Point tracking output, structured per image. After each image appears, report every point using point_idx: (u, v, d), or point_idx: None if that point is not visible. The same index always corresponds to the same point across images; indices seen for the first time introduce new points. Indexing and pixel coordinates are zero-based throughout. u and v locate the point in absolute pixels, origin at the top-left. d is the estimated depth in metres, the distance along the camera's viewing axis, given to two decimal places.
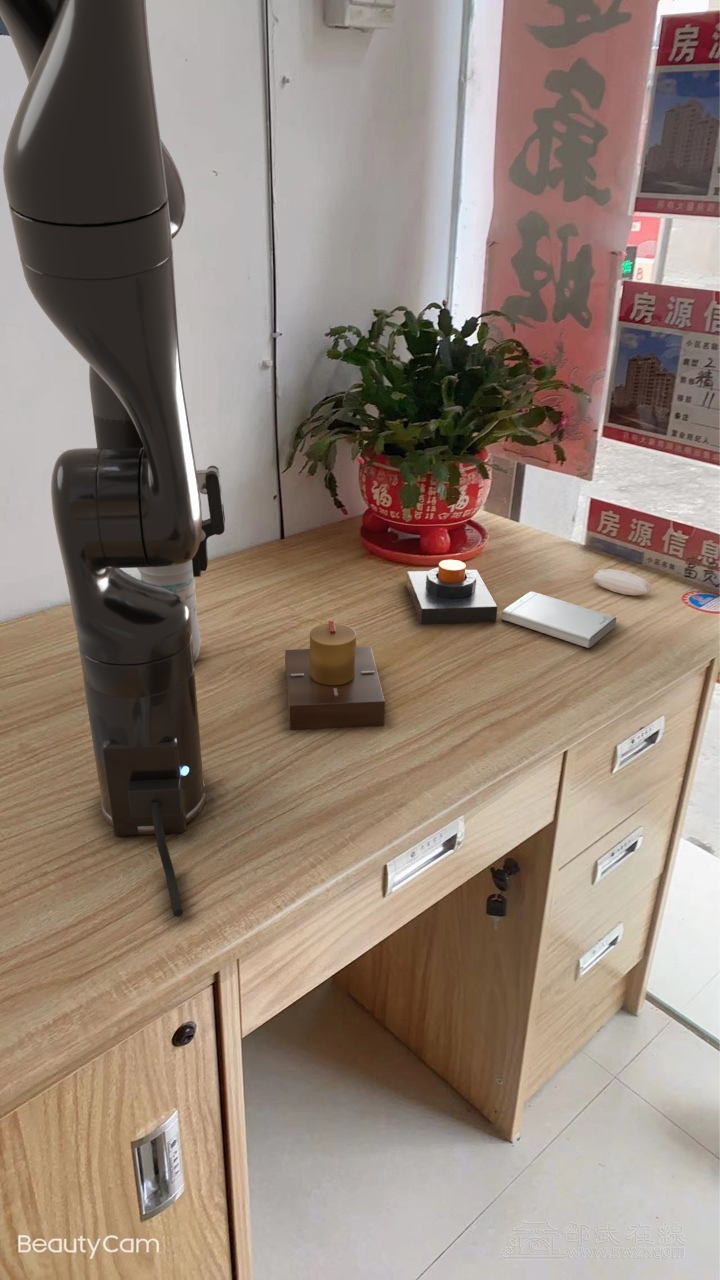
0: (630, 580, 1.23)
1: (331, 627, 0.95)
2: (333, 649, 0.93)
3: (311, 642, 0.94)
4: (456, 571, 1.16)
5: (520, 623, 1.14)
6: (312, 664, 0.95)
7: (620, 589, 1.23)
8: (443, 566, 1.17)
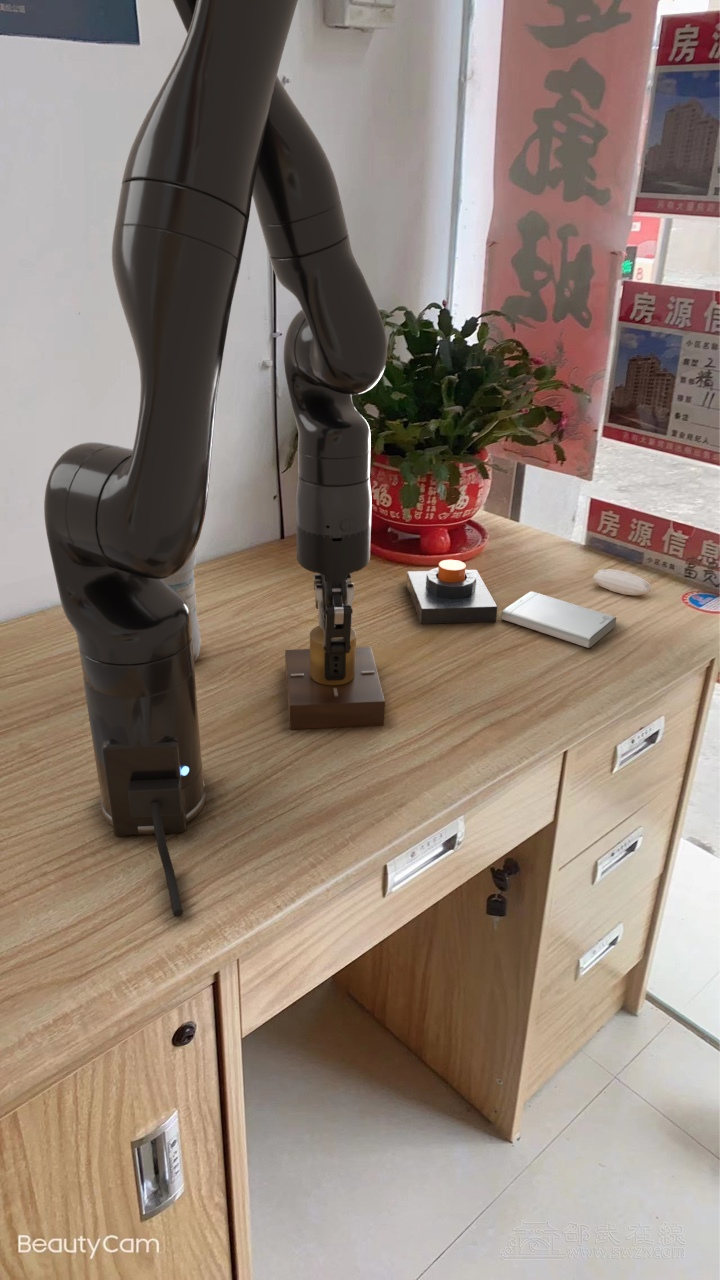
0: (630, 580, 1.23)
1: None
2: None
3: (311, 642, 0.94)
4: (456, 571, 1.16)
5: (520, 623, 1.14)
6: (312, 664, 0.95)
7: (620, 589, 1.23)
8: (443, 566, 1.17)
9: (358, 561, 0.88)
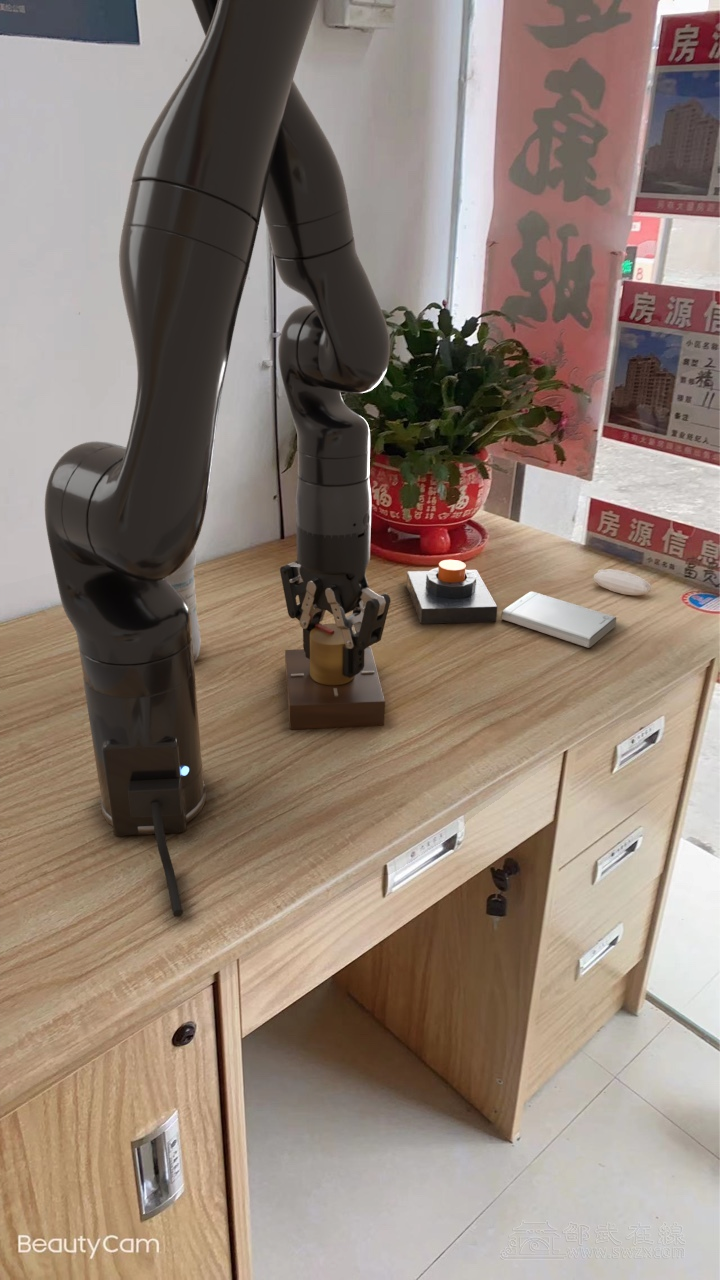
0: (630, 580, 1.23)
1: (326, 628, 0.95)
2: None
3: (322, 648, 0.93)
4: (456, 571, 1.16)
5: (520, 623, 1.14)
6: (325, 669, 0.94)
7: (620, 589, 1.23)
8: (443, 566, 1.17)
9: (369, 552, 0.90)
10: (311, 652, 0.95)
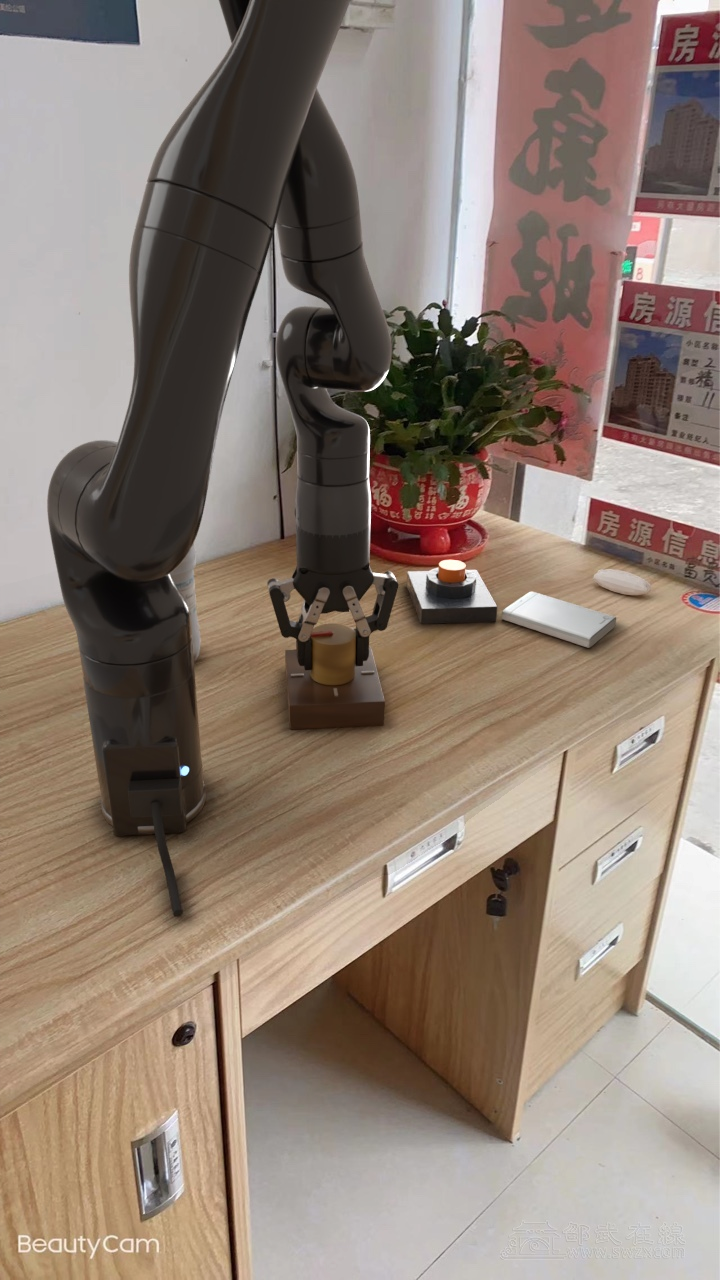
0: (630, 580, 1.23)
1: (325, 632, 0.94)
2: None
3: (344, 647, 0.93)
4: (456, 571, 1.16)
5: (520, 623, 1.14)
6: (346, 668, 0.94)
7: (620, 589, 1.23)
8: (443, 566, 1.17)
9: None
10: (328, 659, 0.93)
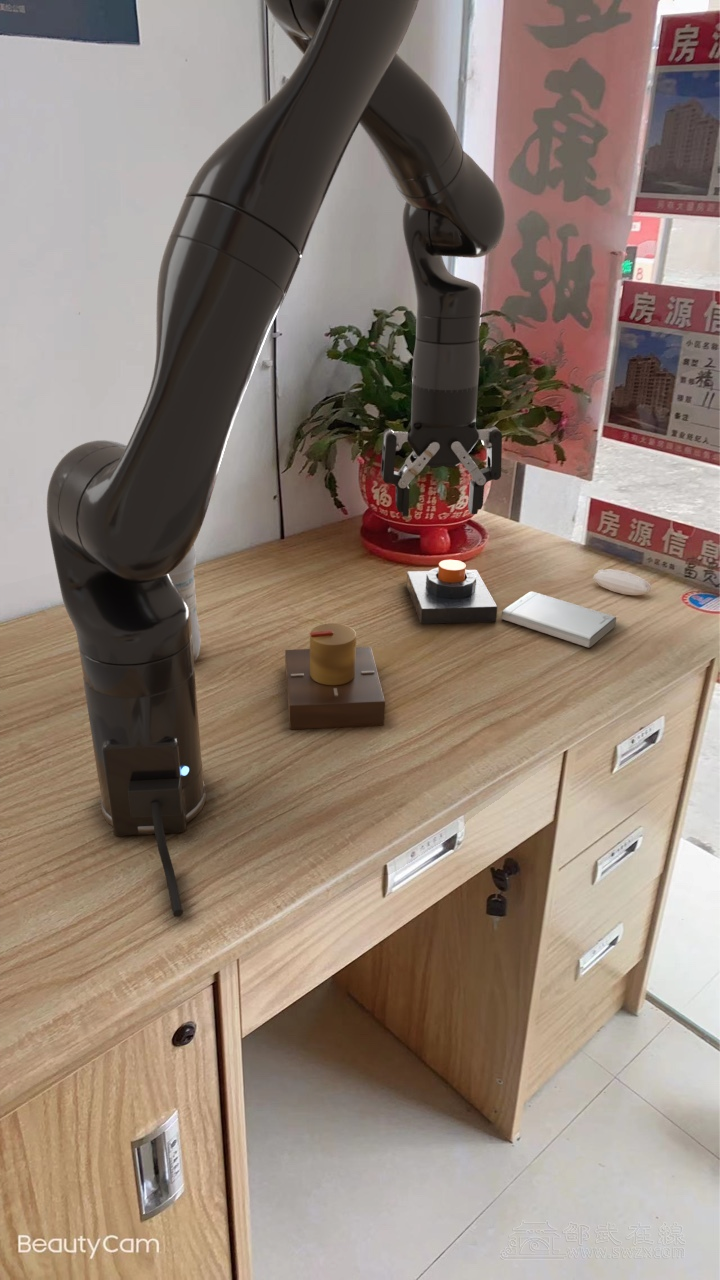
0: (630, 580, 1.23)
1: (325, 632, 0.94)
2: None
3: (345, 647, 0.93)
4: (456, 571, 1.16)
5: (520, 623, 1.14)
6: (346, 668, 0.94)
7: (620, 589, 1.23)
8: (443, 566, 1.17)
9: None
10: (328, 659, 0.93)
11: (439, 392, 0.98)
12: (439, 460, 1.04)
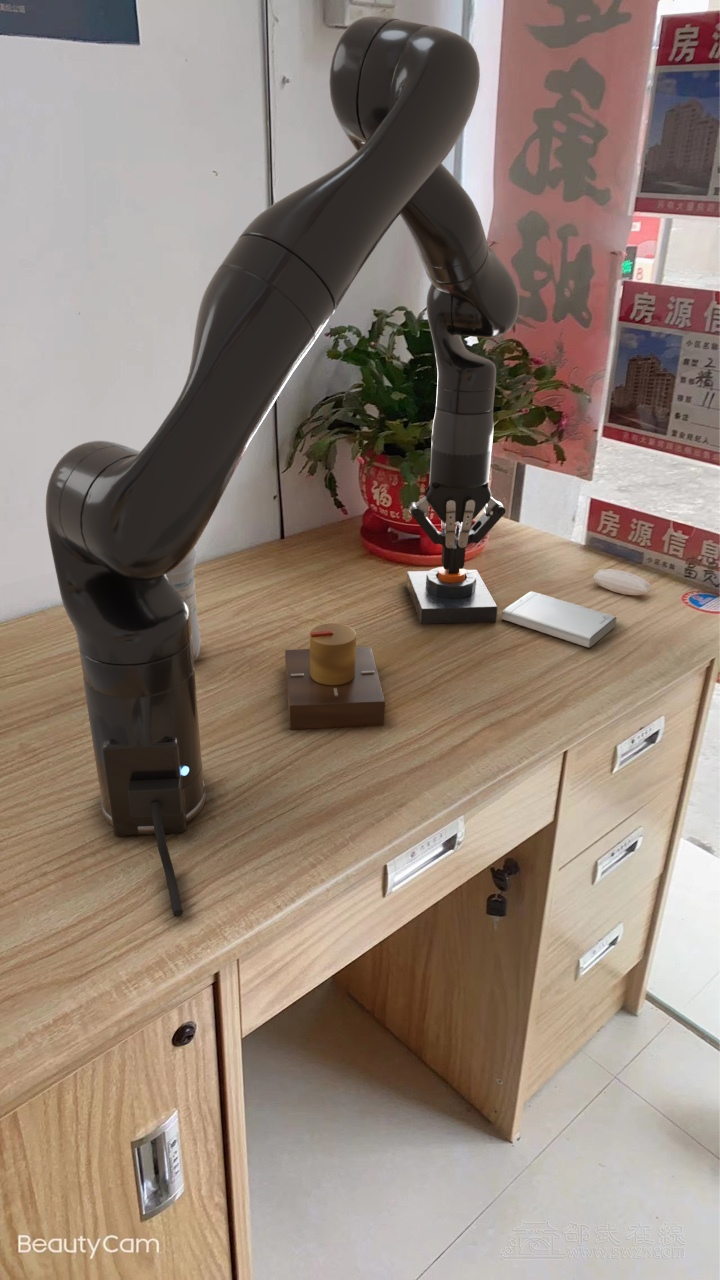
0: (630, 580, 1.23)
1: (325, 632, 0.94)
2: None
3: (345, 647, 0.93)
4: (456, 578, 1.17)
5: (520, 623, 1.14)
6: (346, 668, 0.94)
7: (620, 589, 1.23)
8: (442, 572, 1.18)
9: None
10: (328, 659, 0.93)
11: (456, 457, 1.07)
12: (454, 516, 1.13)
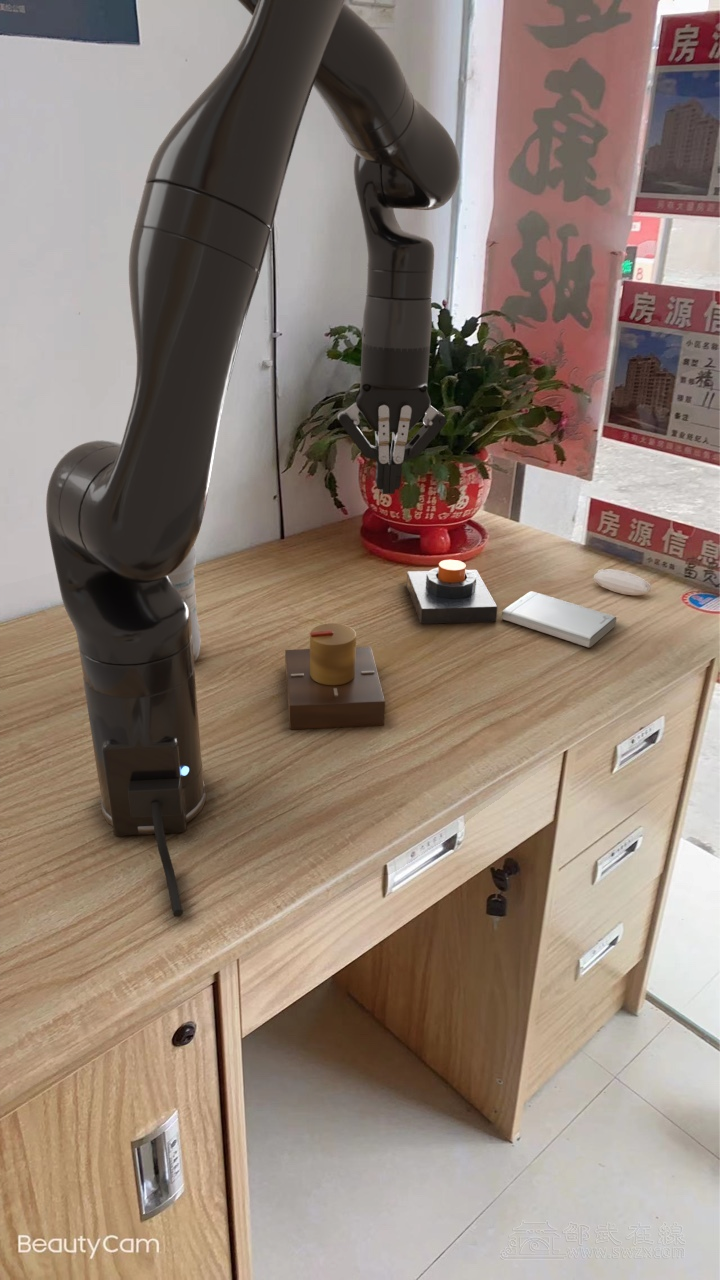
0: (630, 580, 1.23)
1: (325, 632, 0.94)
2: None
3: (345, 647, 0.93)
4: (456, 571, 1.16)
5: (520, 623, 1.15)
6: (346, 668, 0.94)
7: (620, 589, 1.23)
8: (443, 566, 1.17)
9: None
10: (328, 659, 0.93)
11: (388, 350, 0.94)
12: (389, 425, 1.00)
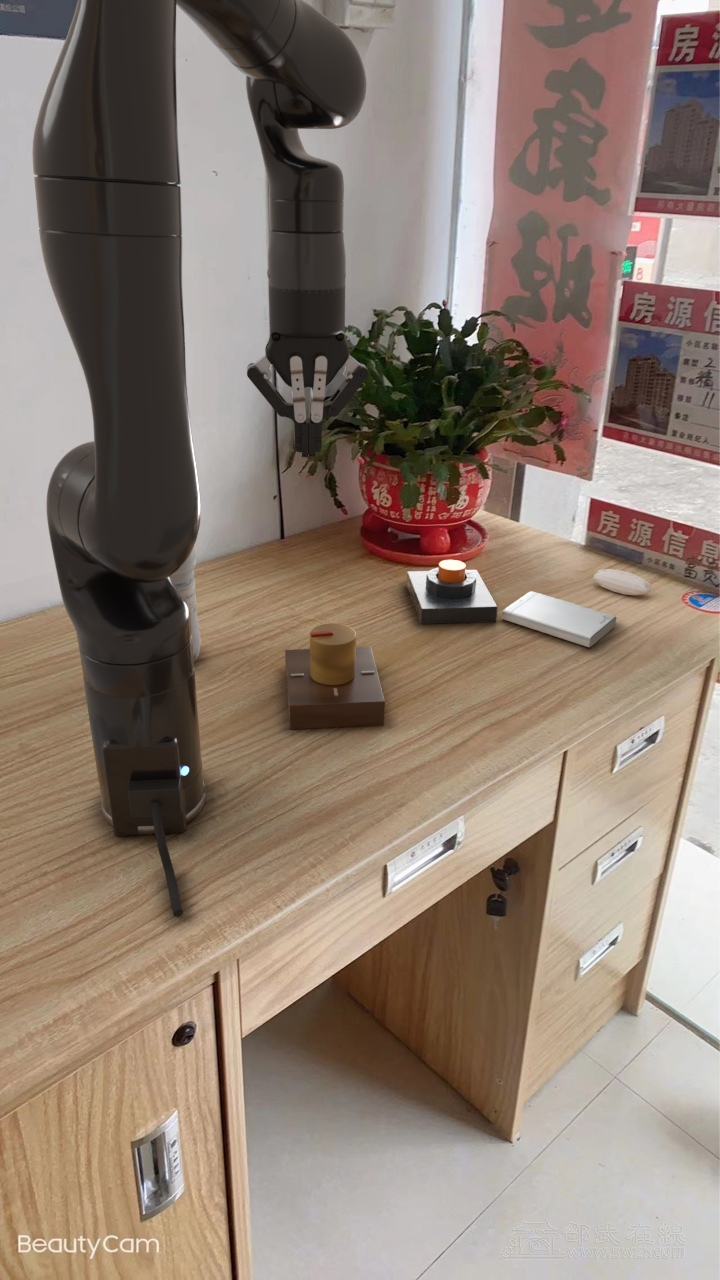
0: (630, 580, 1.23)
1: (325, 632, 0.94)
2: None
3: (345, 647, 0.93)
4: (456, 571, 1.16)
5: (520, 623, 1.15)
6: (346, 668, 0.94)
7: (620, 589, 1.23)
8: (443, 566, 1.17)
9: None
10: (328, 659, 0.93)
11: (295, 292, 0.83)
12: (303, 379, 0.89)
